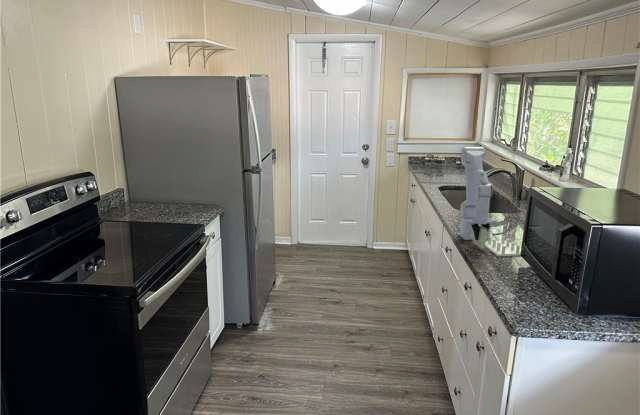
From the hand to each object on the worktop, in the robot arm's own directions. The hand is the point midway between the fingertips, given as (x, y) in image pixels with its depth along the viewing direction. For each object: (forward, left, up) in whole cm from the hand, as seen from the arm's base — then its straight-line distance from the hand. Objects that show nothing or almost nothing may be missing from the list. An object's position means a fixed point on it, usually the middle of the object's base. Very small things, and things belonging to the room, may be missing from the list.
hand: (479, 239), depth 199 cm
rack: (+3, +10, -4) cm, 11 cm away
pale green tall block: (0, 0, -3) cm, 3 cm away
